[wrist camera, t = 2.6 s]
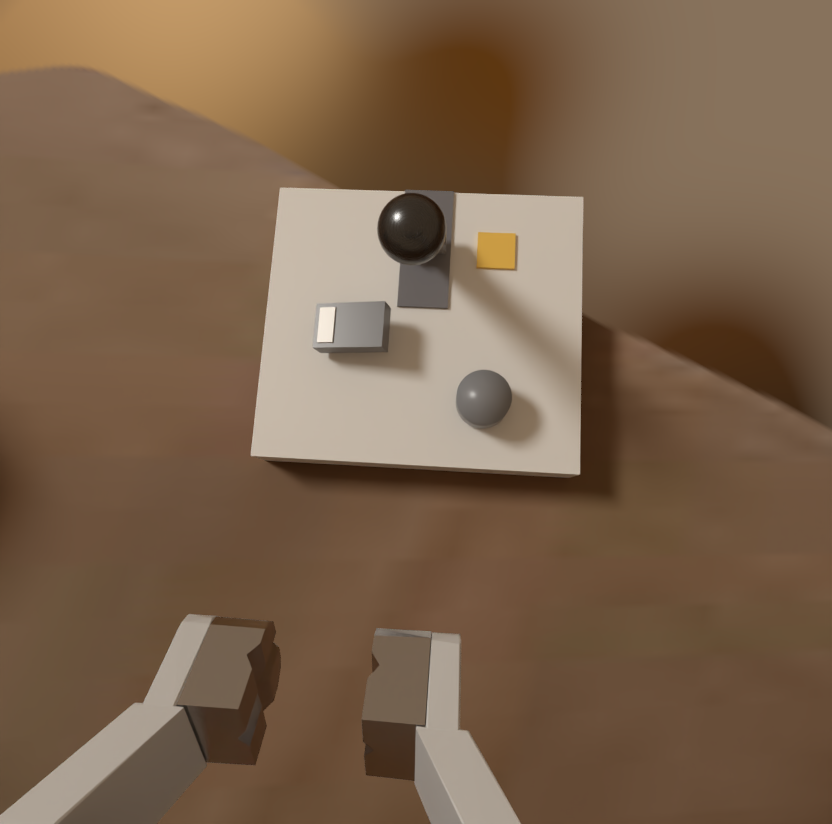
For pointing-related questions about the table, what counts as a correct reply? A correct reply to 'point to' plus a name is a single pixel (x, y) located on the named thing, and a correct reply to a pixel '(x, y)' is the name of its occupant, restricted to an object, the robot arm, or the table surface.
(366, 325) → the rocker switch
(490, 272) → the switch panel
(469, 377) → the push button
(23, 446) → the table surface
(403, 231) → the toggle lever
